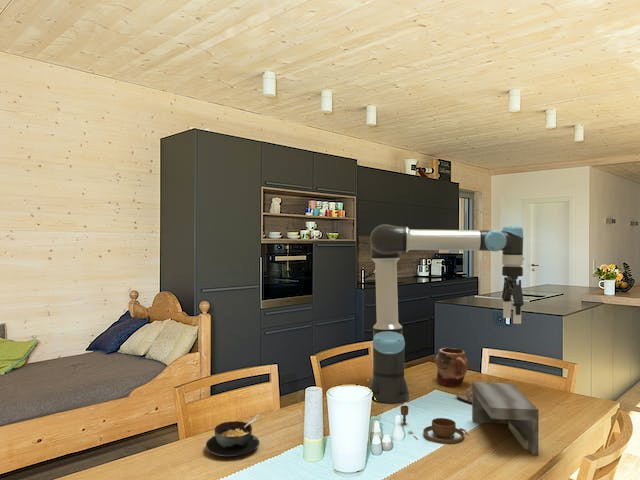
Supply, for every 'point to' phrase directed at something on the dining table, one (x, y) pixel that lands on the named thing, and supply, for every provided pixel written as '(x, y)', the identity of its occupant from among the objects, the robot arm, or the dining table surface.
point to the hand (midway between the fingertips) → (511, 320)
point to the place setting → (438, 429)
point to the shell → (466, 396)
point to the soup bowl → (233, 439)
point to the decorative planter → (451, 366)
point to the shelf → (507, 411)
